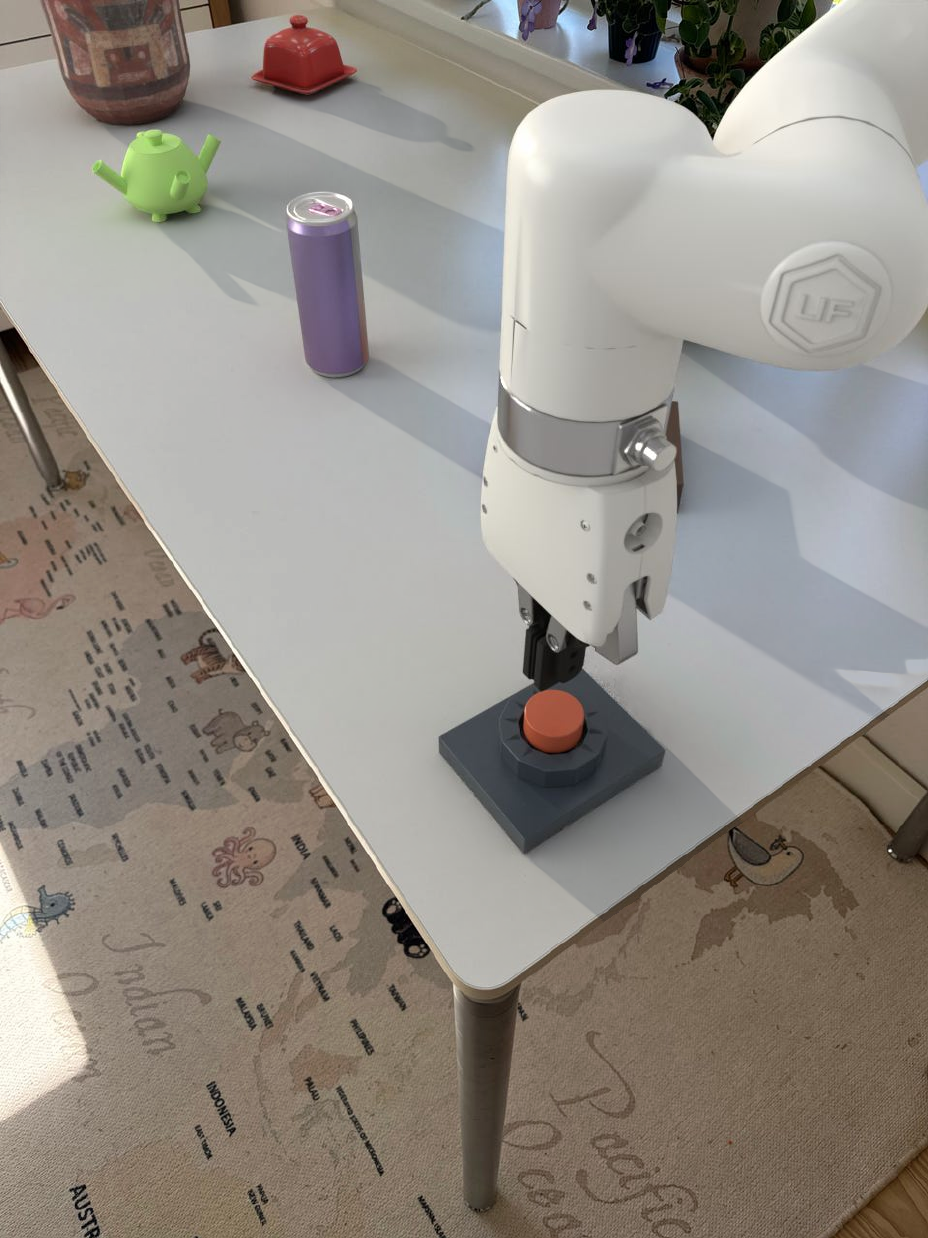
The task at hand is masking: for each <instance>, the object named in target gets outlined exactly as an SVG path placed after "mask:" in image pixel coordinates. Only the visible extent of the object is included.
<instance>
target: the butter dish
mask: <svg viewBox="0 0 928 1238" xmlns="http://www.w3.org/2000/svg"><path fill="white" fill-rule="evenodd" d="M288 21H289V24H290V25H291V26H290V27H287V28H284V29H281V30H279V31H277V32H275V33H273V34H272V35H271V36H269V37H268V38H267V39H266V41H265V42H264V45H263V54H262V55H263V56H262V69H261V70H259V71H256V72H255V73H253V74H252V75H251V76H250V79H251V80H253V81H255V82H259V83H263V84H267V85H269V86H272V87H275V88H279V89H282V90H286V91H290V92H294V93H297V94H301V95H306V96H310V95H313V94H315V93H317V92H319V91H321V90H323V89H325V88H327V87H330V86H332V85H334V84H336V83H338V82H340V81H342V80H344V79H346V78H348V77H350V76H352V75H354V74H356V73H357V72H358V68H355V67H354V66H350V65H347V64H344V62H343V59H342V58H343V57H342V54H341V51H340V48H339V45H338V42H337V40H336V39H335V37H333V36H332V35H331V34H329V33H327V32H325V31H323V30H320V29H317V28H313V27H310V26H309V27H308V26H307V25H308V22H309V20H308V18H307V17H306V16H305V15H301V14H294V15H292V16H290V18H289V19H288Z"/></svg>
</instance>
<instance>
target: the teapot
mask: <svg viewBox="0 0 928 1238" xmlns="http://www.w3.org/2000/svg"><path fill="white" fill-rule="evenodd" d="M221 142H222V140H221V139H219V138H217V136H214V135H212V134H211V133H208V134H207V136H206V138H205V140H204V143H203V145H202V147H201V150H200V151H199V154H198V157H197V155H196V154H195V153H194V152H193V150H192V149H191V148H190V147H189V146H188V145H187V144H186V142H185V141H183V140H182V139H181V138H180V137H179V136H178V135H175V134H172V133H167V132H166V133H164V132H163V131H162V130H161V129H150V130H147V131H139V132H137V133H136V138H135V139H133V140H132V141H131V142H130V144H129V145H128V148H127V150H126V152H125V155H124V158H123V162H122V165H121V171H120V174H119V173H118V172H116V171H115V170H114V169H113V168H112V167H110V166H109V165H108V164H106V163H105V162H103V161H102V159H98V160H96V161H95V162H94V164H93V166H92V168H91V172H92V173H93V174H95V175H96V176H97V177H99V178H100V179H101V180H103V181H104V182H106V183H107V184H108V185H110V186H111V187H113V188H114V189H116V190H117V191H118V192H120V193H121V194H122V195H123V197H124V198H125V200H126V201H127V202H128V203H130V205H132V206H133V207H134V208H136V209H137V210H139V211H141V212H143V213H147V214H152V216H151V221H152V222H154V223H162V222H165V221H167V220H168V214H175V213H180V212H183V211H186V213H188V214H196V213H199V212H201V210H202V207H200V206H199V205H198V204H199V203H200V202H201V200H202V199H203V198H204V196H205V194H206V193H207V190H208V186H209V181H208V176H207V173H208V170H209V168H210V167H211V164H212V163H213V160H214V157H215V156H216V154H217V152H218V149H219V147H220V145H221Z"/></svg>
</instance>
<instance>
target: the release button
mask: <svg viewBox="0 0 928 1238" xmlns="http://www.w3.org/2000/svg"><path fill="white" fill-rule="evenodd" d="M583 722H584V710H583V707H582V705H581V704H580V702H579V701H578V700H577V699H576V698H575V697H574V696H572V695H571V694H569V693H567V692H564V691H560V690H545V691H542V692H539V693H537V694H535V695H534V696H533V697H531V698H530V699H529V701H528V702H527V704H526V706H525V711H524V726H523V730H524V734H525V737H526V739H527V740H528V742H529V743H530V744H531V745H532V746H534V747H535V748H537V749H538V750H540V751H543V752H547V753H562V752H565V751H568V750H570V749H571V748H573V747H574V746H575V745H576V744H577V743H578V742H579V740H580V738H581V735H582V729H583Z"/></svg>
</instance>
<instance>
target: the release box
mask: <svg viewBox="0 0 928 1238" xmlns="http://www.w3.org/2000/svg"><path fill="white" fill-rule="evenodd" d="M547 690H560V691H564V692H567V693H569V694H571V695H572V696H574V697H575V698H576V699H577V700H578V701H579V702H580V704H581V705H582V707H583V710H584V722H583V729H582V735H581V738H580V740H579V742H578V743H577V744H576V745H575V746H574V747H573V748H571V749H570V750H568V751H565V752H562V753H547V752H543V751H540V750H538V749H537V748H535V747H534V746H532V745H531V744H530V743H529V742H528V740H527V739H526V737H525V734H524V730H523V726H524V711H525V706H526V704H527V702H528V701H529V699H530V698H531V697H533V696H534V695H535V694H537V693H539V692H541V691H540V690H539V689H538V688H537V687H536V686H535V685H534V682H532V683H530V684H529V685H527V686H526V687H524V688H522V689H520V690H519V691H517V692H514V693H512V694H511V695H510V696H508V697H506V698H504V699H502V700H501V701H499V702H497V703H496V704H493V705H491V706H490V707H488V708H486V709H485V710H482V711H481V712H480V713H478V714H476V715H474V716H472V717H470V718H468V719H467V720H465V721H464V722H462V723H460V724H458V725H456V726H455V727H453V728H451V729H450V730H448V731H446V732H445V733H442V734H440V735H439V736H438V737H437V739H438V753H439V754H440V755H441V756H442V758H443V759H444V760H445V762H447V764H448V765H449V766H450V768H451V769H452V770H453V771H454V772H455V773H456V775H457V776H458V777H459V779H461V781H462V782H463V783H464V785H466V787H467V788H468V789H469V790H470V791H471V793H472V794H473V795H474V796H475V798H476V799H477V800H478V801H479V802H480V804H481V805H482V806H483V808H485V810H486V811H487V812H488V813H489V815H490V816H491V817H492V818H493V820H494V821H496V823H497V824H498V825H499V826H500V828H501V829H502V830H503V831H504V833H505V834H506V835H507V837H509V838H510V840H511V841H512V842H513V844H514V845H515V846H516V847H517V848H518V849H519V851H520V852H521V854H523V855H525V854H527V853H528V852H530V851H532V850H533V849H535V848H536V847H538V846H539V845H541V844H542V843H544V842H545V841H547V840H549V839H550V838H552V837H553V836H555V835H557V834H559V832H561V831H563V830H564V829H566V828H567V827H569V826H570V825H572V824H573V823H575V822H577V821H578V820H580V819H581V818H583V817H584V816H586V815H587V814H589V813H591V812H592V811H593V810H595V809H597V808H598V807H600V806H601V805H603V804H604V803H606V802H608V801H609V800H610V799H612V798H613V797H616V796H617V795H618V794H620V793H622V792H623V791H624V790H626V789H627V788H629V787H631V786H632V785H634V784H635V783H637V782H638V781H640V780H642V779H643V778H645V777H646V776H648V775H649V774H651V773H652V772H654V771H655V770H657V769H659V768H660V767H662V766H663V762H664V758H665V754H666V749H665V748H664V747H663V746H662V745H661V744H660V743H659V742H658V741H657V740H656V739H655V738H654V737H653V736H652V735H651V734H650V733H649V732H648V731H647V730H646V729H645V728H644V727H643V726H642V725H641V724H640V723H639V722H638V721H637V720H636V719H635V718H634V717H633V716H632V715H631V714H630V713H629V712H628V711H626V709H624V708H623V707H622V705H621V704H619V703H618V702H617V701H616V700H615V698H613V696H611V695H610V694H609V693H608V692H607V691H606V690H605V689H604V688H603V687H602V686H601V685H600V684H599V683H598V682H597V681H596V680H595V679H594V678H593V677H592V676H591V675H590V674H589V673H588V672H587V671H586V670H585V669H584V668H583V667H582V669H581V671H580V673H579V674H578V675H577V676H576V677H575V678H573V679H571V680H570V681H568V682H566V683H561V682H559V683H557V684H555V685H554V686H552V687H550V688H548V689H547Z"/></svg>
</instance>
